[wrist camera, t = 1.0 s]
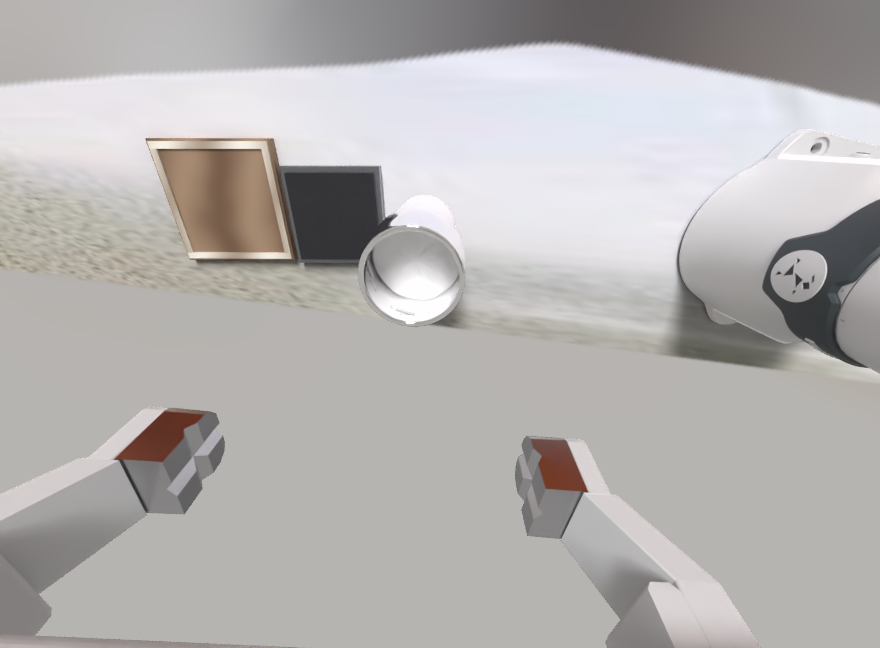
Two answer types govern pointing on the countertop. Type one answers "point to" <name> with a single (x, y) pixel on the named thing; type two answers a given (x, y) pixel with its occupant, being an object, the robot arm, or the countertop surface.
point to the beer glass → (414, 264)
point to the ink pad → (333, 210)
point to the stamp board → (226, 197)
